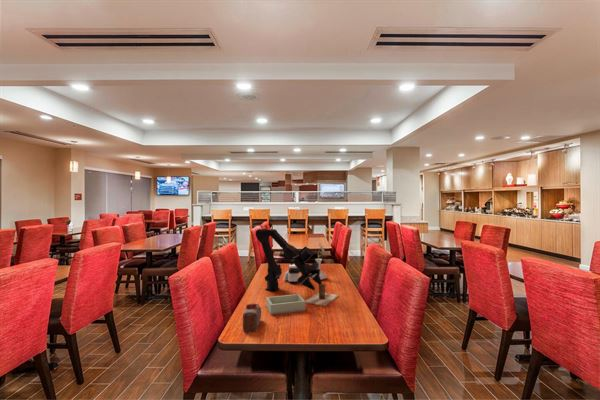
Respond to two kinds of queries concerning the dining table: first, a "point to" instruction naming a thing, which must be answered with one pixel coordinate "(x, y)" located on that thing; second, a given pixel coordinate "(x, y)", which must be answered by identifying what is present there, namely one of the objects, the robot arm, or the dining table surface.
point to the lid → (321, 297)
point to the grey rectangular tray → (285, 304)
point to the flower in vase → (322, 274)
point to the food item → (251, 317)
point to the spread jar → (292, 274)
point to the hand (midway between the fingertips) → (318, 287)
